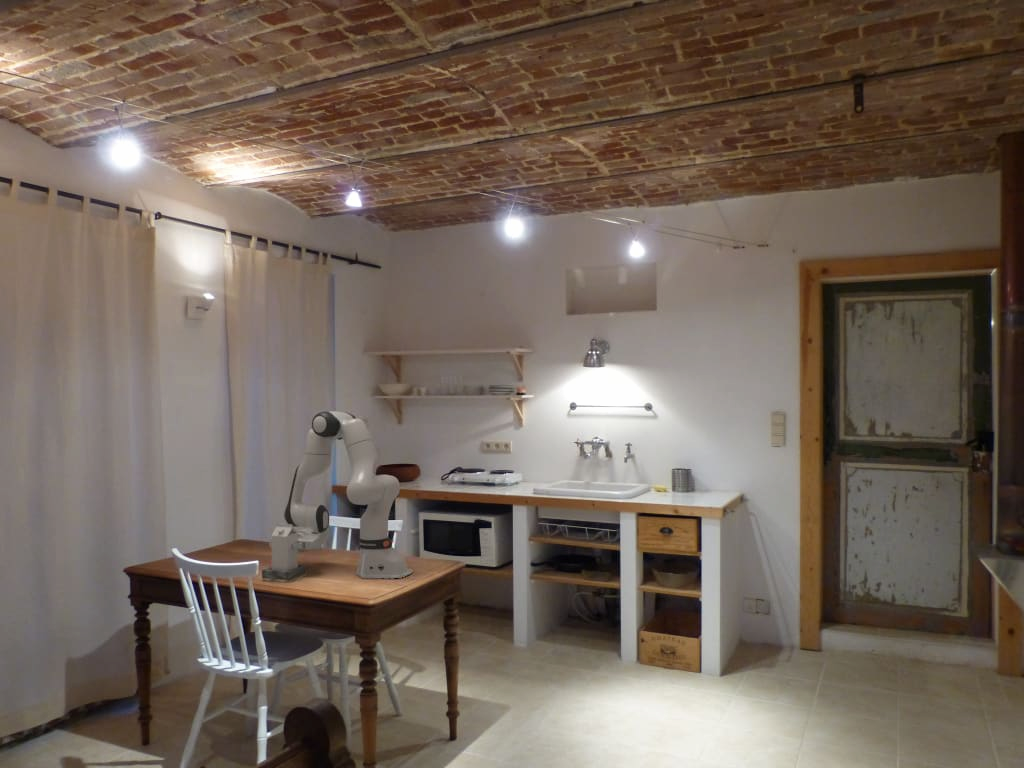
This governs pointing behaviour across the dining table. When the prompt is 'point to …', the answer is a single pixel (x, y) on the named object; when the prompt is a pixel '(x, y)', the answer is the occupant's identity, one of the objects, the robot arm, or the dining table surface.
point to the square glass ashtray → (284, 574)
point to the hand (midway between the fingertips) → (283, 546)
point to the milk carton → (284, 548)
